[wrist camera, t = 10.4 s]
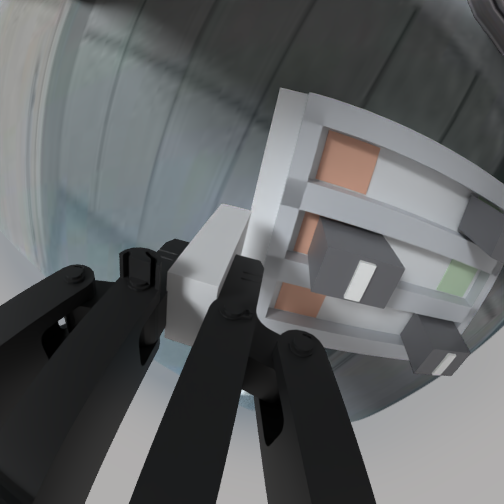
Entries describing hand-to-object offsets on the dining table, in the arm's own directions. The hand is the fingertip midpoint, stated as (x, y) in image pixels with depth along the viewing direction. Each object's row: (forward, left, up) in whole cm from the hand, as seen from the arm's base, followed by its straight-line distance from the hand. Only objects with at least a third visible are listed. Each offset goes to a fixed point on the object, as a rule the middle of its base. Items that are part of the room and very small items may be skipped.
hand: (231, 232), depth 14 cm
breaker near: (+16, +5, -2) cm, 16 cm away
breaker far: (+15, -4, -2) cm, 16 cm away
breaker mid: (+6, 0, -2) cm, 7 cm away
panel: (+10, 0, -4) cm, 11 cm away
